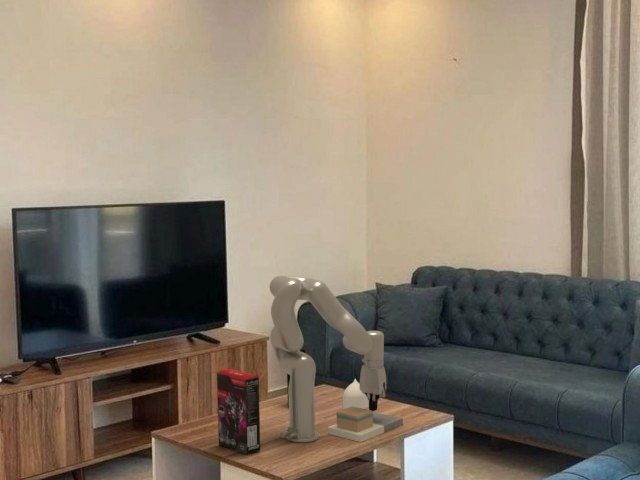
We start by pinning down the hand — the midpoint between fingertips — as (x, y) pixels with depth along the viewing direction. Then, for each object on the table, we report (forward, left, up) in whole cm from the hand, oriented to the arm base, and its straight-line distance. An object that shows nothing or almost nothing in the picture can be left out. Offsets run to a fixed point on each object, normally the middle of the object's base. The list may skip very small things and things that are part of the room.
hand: (373, 410), depth 307 cm
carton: (-12, 0, -4) cm, 12 cm away
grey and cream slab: (-5, 0, -6) cm, 8 cm away
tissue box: (+3, +42, -6) cm, 43 cm away
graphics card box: (-50, +22, -6) cm, 55 cm away
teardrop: (+17, +22, -6) cm, 29 cm away
